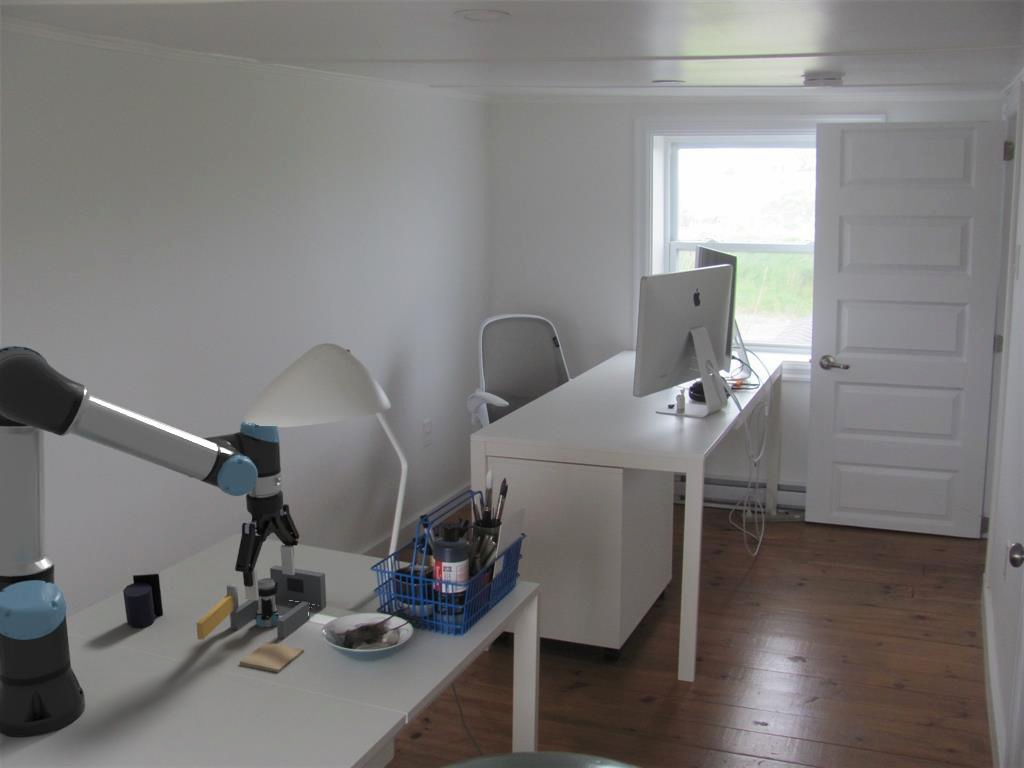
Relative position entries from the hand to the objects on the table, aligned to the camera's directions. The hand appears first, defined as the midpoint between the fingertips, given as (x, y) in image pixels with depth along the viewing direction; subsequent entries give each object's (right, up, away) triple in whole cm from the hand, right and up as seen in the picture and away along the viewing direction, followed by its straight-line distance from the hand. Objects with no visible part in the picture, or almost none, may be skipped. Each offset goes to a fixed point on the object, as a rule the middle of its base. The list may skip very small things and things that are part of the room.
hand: (271, 586), depth 217 cm
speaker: (-28, -8, +2) cm, 29 cm away
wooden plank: (-9, -6, -7) cm, 13 cm away
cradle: (+1, -8, +5) cm, 9 cm away
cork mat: (+3, -12, -13) cm, 18 cm away
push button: (0, -9, +2) cm, 9 cm away
